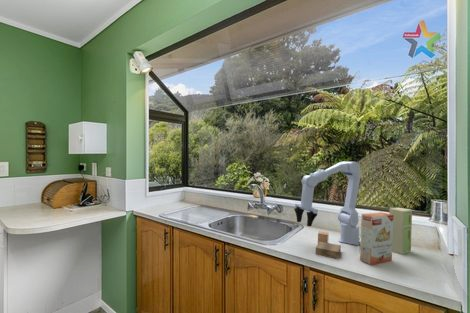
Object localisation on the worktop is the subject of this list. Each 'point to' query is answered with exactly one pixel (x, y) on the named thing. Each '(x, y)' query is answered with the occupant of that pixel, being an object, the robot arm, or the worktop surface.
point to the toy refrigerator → (401, 230)
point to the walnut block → (328, 249)
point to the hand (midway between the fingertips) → (303, 224)
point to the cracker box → (376, 238)
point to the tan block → (323, 236)
